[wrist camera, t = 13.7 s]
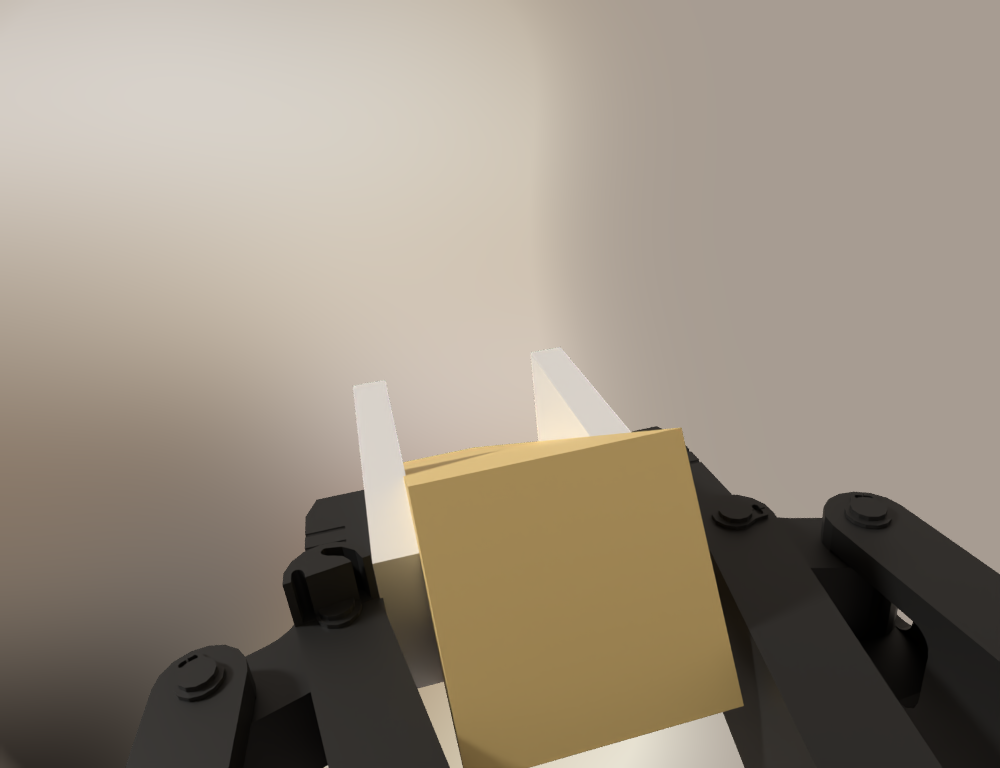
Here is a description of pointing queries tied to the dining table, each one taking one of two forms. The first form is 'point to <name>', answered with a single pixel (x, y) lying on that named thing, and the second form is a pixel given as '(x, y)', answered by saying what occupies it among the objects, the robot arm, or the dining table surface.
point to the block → (569, 594)
